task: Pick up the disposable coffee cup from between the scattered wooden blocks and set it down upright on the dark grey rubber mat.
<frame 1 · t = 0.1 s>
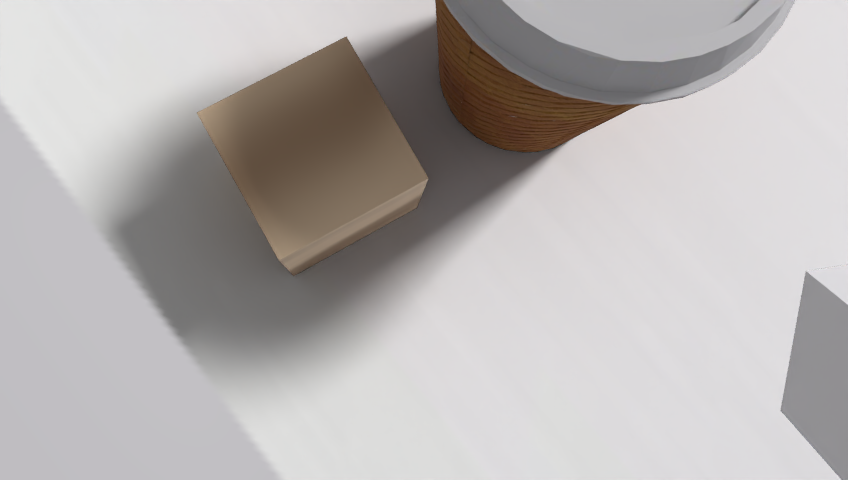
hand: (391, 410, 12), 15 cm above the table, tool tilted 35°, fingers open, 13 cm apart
block a: (322, 181, 28), on the table
disposable coffee cup: (521, 72, 29), on the table
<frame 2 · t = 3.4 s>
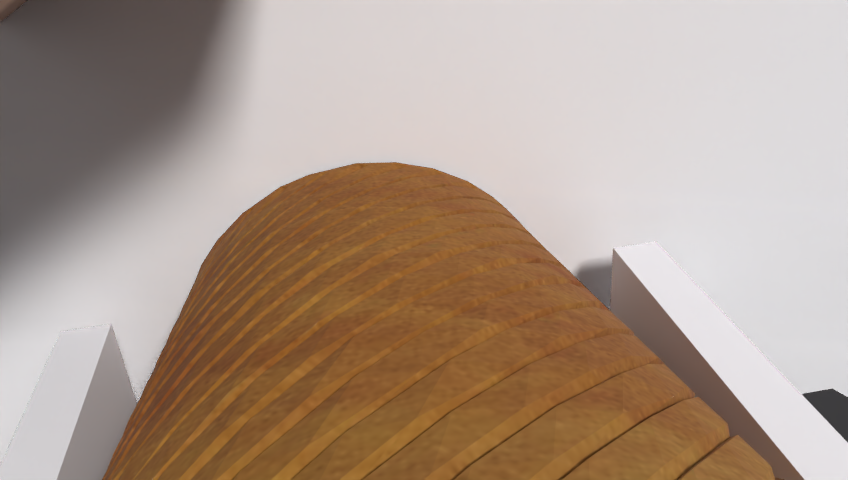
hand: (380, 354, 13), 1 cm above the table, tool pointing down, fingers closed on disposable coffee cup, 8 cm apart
disposable coffee cup: (373, 322, 14), on the table, touching gripper
when the fingers open (3 cm above the table, at t = 8.9 s): disposable coffee cup drops 1 cm, resting on mat.
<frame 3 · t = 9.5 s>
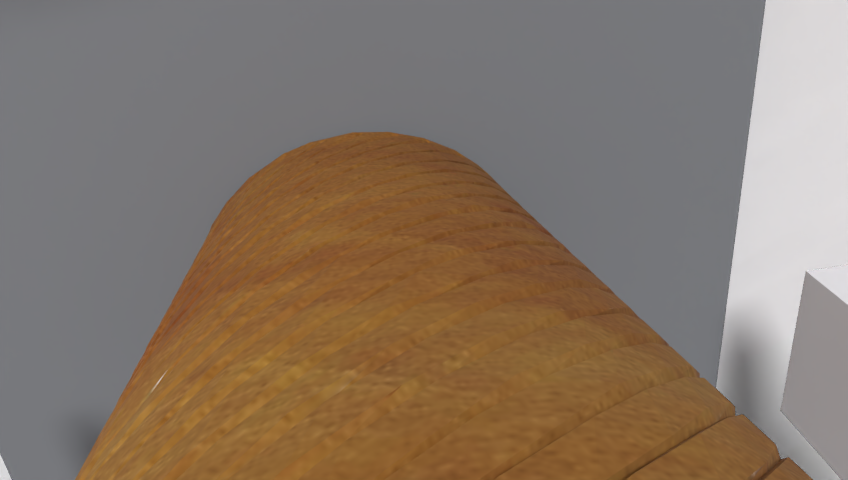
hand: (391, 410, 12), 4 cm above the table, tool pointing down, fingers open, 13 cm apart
disposable coffee cup: (369, 282, 15), resting on mat
mat: (364, 272, 15), on the table
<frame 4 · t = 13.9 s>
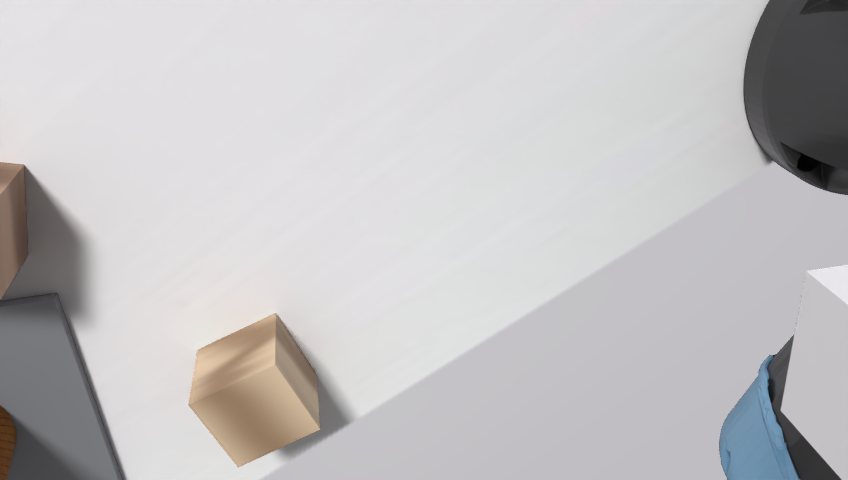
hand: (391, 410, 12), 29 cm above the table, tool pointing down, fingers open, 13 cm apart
block a: (258, 361, 45), on the table
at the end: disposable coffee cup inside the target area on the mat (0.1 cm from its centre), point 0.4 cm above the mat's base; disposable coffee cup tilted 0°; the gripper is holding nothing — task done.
